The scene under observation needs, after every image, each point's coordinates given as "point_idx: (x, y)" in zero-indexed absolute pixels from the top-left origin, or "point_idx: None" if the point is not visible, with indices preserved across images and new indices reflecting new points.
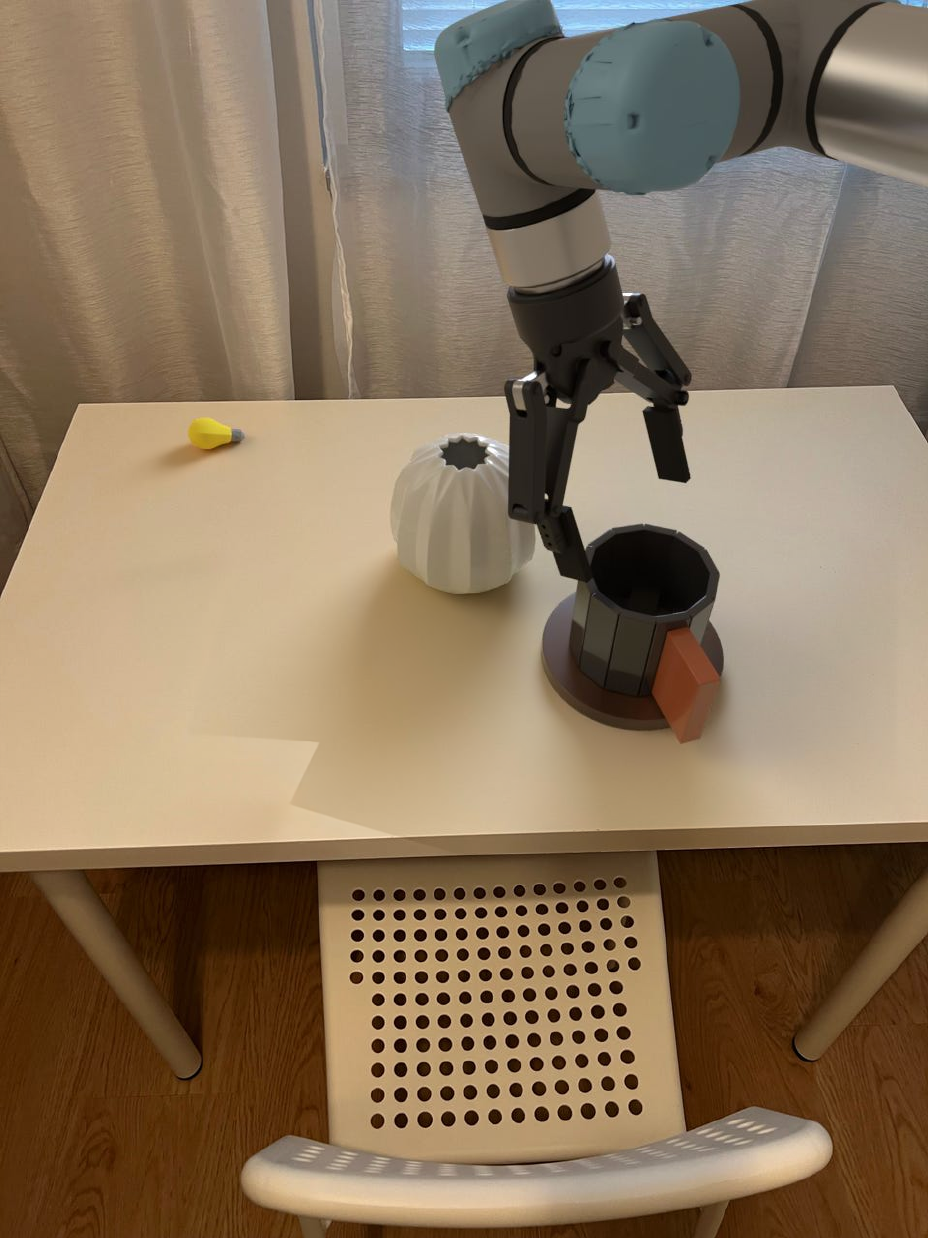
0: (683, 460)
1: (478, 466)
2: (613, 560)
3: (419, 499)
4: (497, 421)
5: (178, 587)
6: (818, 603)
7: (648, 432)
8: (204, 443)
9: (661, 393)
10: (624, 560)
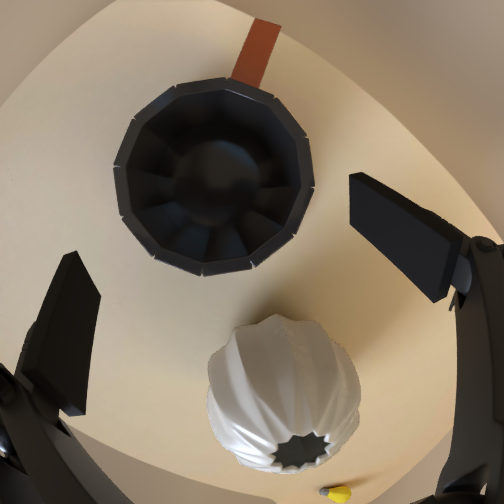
0: (59, 278)
1: (305, 433)
2: (203, 250)
3: (357, 416)
4: (152, 454)
5: (424, 404)
6: (37, 145)
7: (88, 368)
8: (347, 489)
9: (38, 430)
10: (188, 244)
